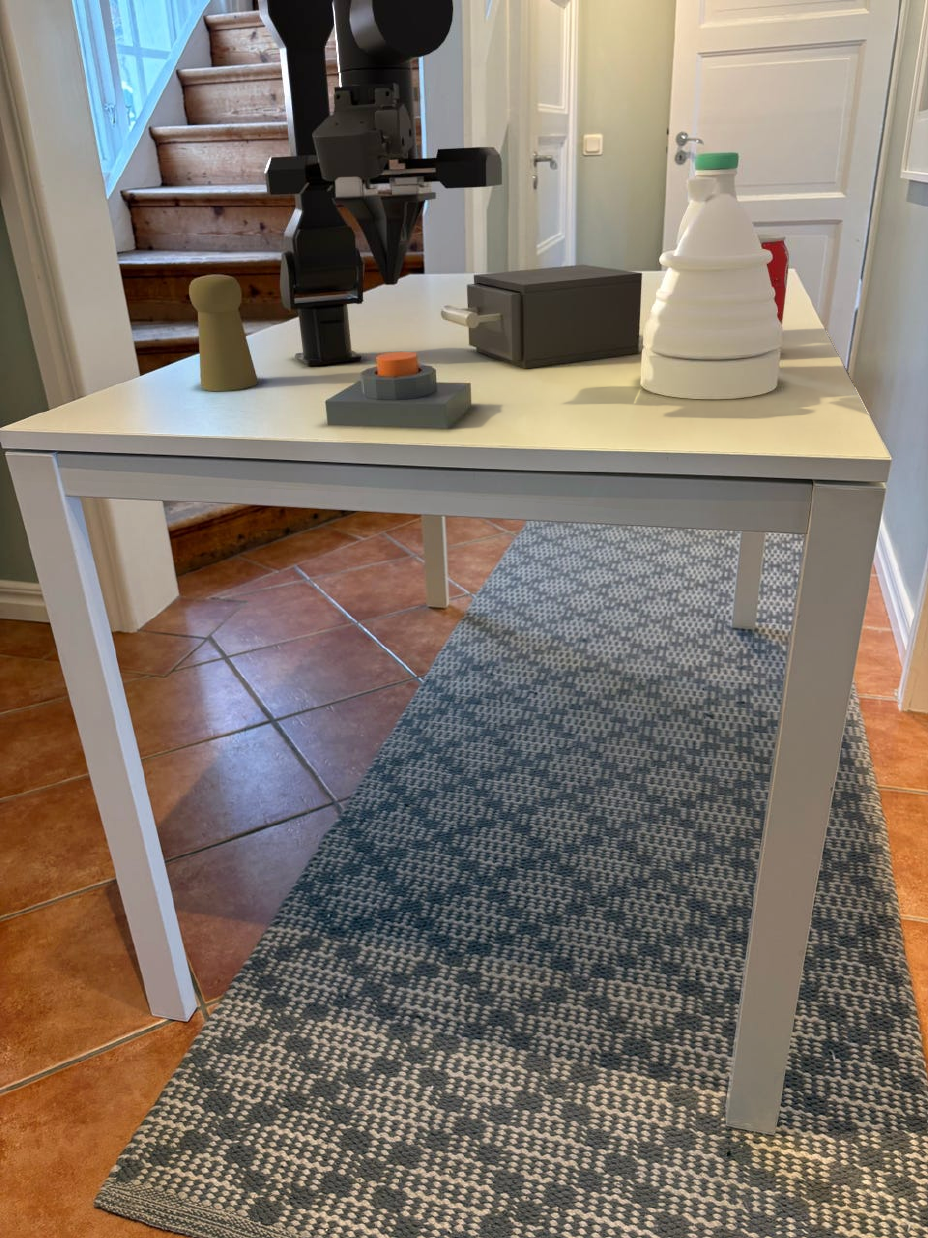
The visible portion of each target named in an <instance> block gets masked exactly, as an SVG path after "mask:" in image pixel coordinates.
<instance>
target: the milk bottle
mask: <svg viewBox="0 0 928 1238" xmlns="http://www.w3.org/2000/svg"><path fill="white" fill-rule="evenodd" d="M739 158H740V157H739V152H734V151H733V152H731V151H730V152H729V151H728V152H708V153H698V154H696V157H695V163H694V170H695V171H694V172H695V173H694V176H695V177H696V178H695V179H699V178H716V184H715V187H714V190H713V192H712V194H730V196H732V197H734V198H735V199H737V200H738V197H737V193H736V187H735V179H736V175H737V174H738V167H739ZM705 203H706V202H701V203H698V202H695V201H694V200H692V198H691V199H690V201H689V204H688V205H687V208H686V210H685V212H684V215H683V217H682V219H681V221H680V224H679V227H678V231H677V237H676V247H675V249H676V248H677V246H678V244H679V242H680V240H681V238H682V236H683V234H684V232H685V230H686V229H687V227H688V225H689V223H690V222H691V220H692V219H693V217H694V216H695V214H696V213H697V212H698V210H699V209H700V208H701V207H702V206H703V205H704V204H705Z"/></svg>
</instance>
